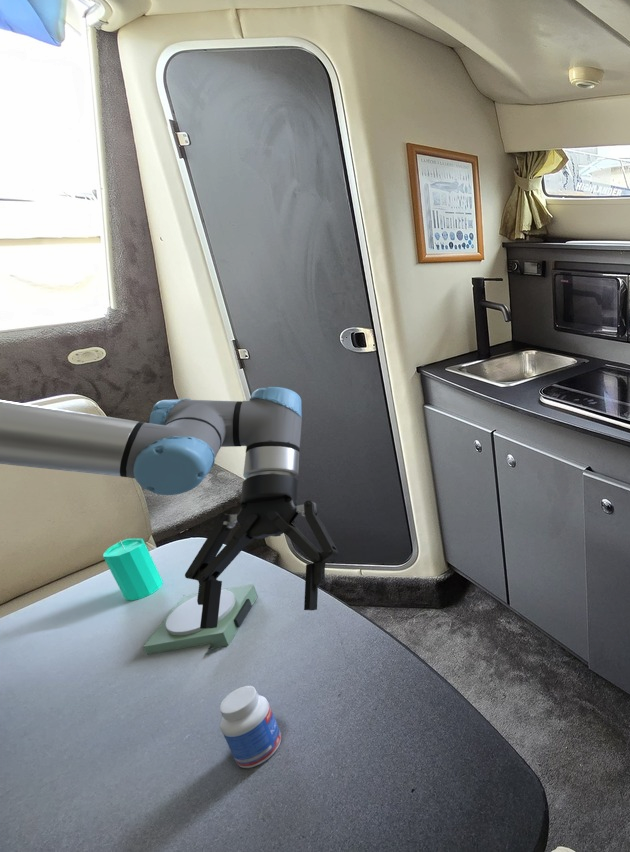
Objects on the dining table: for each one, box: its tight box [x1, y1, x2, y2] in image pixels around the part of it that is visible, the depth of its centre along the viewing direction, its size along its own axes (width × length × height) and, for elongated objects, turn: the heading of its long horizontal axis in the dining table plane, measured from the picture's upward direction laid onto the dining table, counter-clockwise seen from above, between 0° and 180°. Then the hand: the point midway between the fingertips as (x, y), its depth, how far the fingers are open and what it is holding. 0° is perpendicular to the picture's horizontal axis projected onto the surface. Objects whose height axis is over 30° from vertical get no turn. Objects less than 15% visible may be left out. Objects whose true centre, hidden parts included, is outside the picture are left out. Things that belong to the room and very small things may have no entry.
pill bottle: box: [219, 685, 282, 769], centre depth 67 cm, size 6×5×10 cm
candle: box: [102, 538, 164, 601], centre depth 97 cm, size 6×6×12 cm
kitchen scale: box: [143, 583, 259, 655], centre depth 89 cm, size 12×12×4 cm
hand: (260, 619), depth 72 cm, fingers open, 13 cm apart
